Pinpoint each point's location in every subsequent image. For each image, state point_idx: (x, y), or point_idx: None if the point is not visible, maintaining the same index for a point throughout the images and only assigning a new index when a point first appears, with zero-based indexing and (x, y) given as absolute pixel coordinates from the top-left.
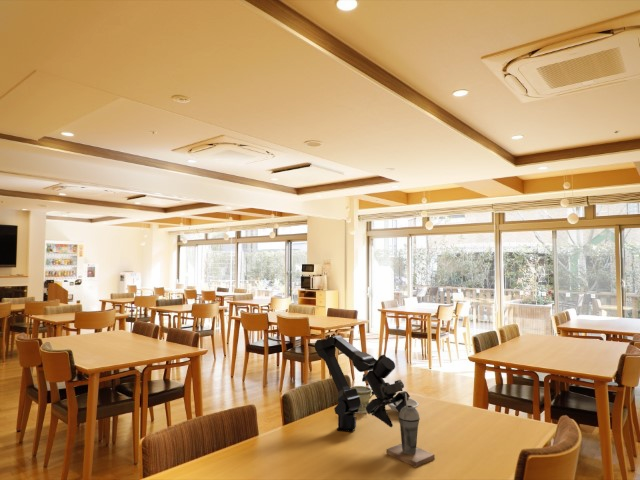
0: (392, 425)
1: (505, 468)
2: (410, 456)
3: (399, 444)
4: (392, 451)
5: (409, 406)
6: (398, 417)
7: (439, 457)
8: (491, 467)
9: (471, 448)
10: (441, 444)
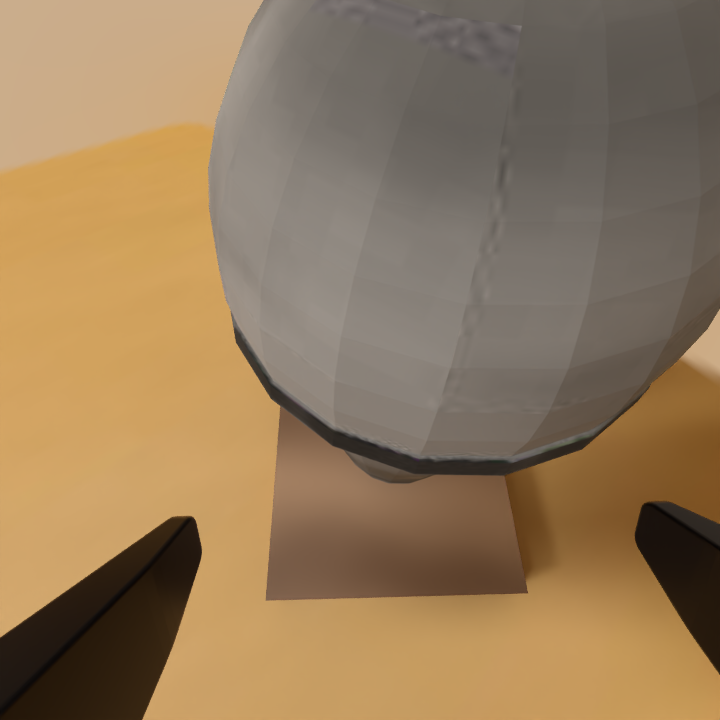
0: (661, 501)
1: (150, 140)
2: None
3: (347, 594)
4: (507, 518)
5: (326, 57)
6: (643, 392)
7: None
8: (179, 164)
9: (7, 299)
10: (46, 437)
